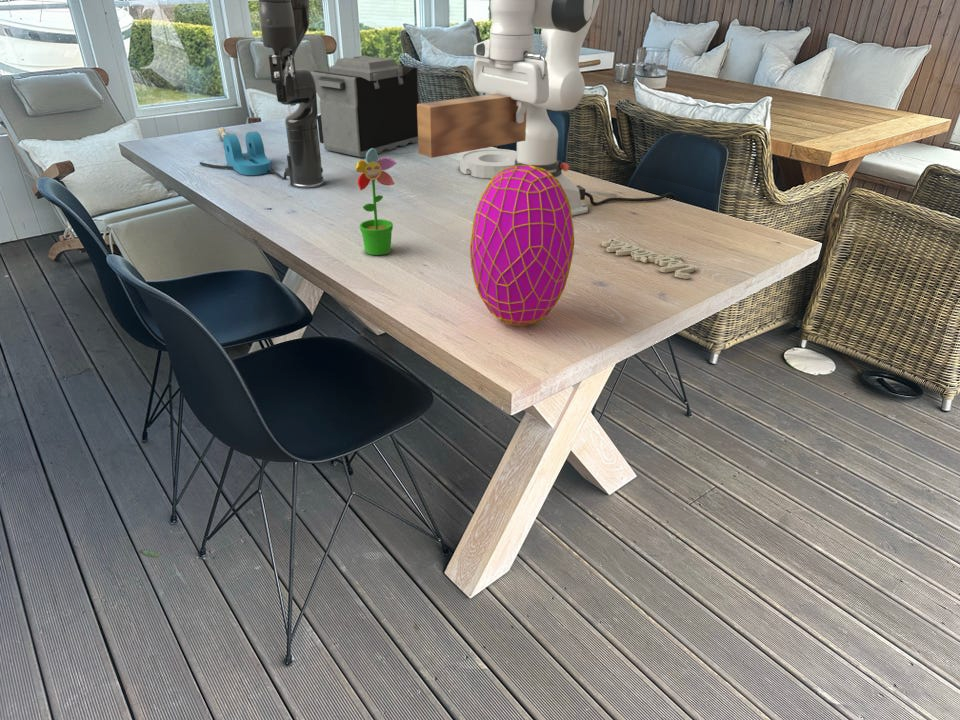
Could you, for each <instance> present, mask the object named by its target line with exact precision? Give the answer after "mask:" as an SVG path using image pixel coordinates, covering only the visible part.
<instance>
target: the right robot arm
mask: <svg viewBox="0 0 960 720" xmlns="http://www.w3.org/2000/svg"><path fill="white" fill-rule="evenodd" d="M600 1H601V0H490V2H489V3H490V6H489V7H490V9H489V10H490V13H491V26H490V29H489V38H488V39H486V40H483V41H480V42H478V43H476V44H474V46H473V55H474V56H475V58H474V61H473V87H474V88H475V91H476V92H478V93H482V94H485V95H490V94H501V95H506V96H510V97H511V99H513V100H517V106H519V107H518V109H517V112H516V113H514V114H513V121H514V122H516V123H523V122H524V114H525V112H526V110H527V114H526V138H525V141H521V142H516V151H517V157H516V159H515V166H516V165H532V166H536V167H539V168H542V169H545V170H547V171H549V172H550V173H551V174H552V175H553V176H554V177H555V178H556V179H557V180H558V181H559V182H560V184H561V186H562V188H563V189H564V191H565V193H566V195H567V198H568V201H569V204H570V207H571V213H572V217H573V216H578V215H581V214H586V213H588V211H589V207H588V205H587V204H586V203H585V202H583V201H584V200H585V199H586V197H587V198H588V199H589V202H590V204H591V205H593V206H600V205H603V204H606V203H608V202H609V203H610V202H653V201H659V200H663V199H665V198H667V197H671V198H673V199H676V198H677V196H676V195H675V194H674V193H673V192H666V193H664V194H662V195H660V196H653V197H642V198H641V197H636V198H635V197H608V198H605V199H602V200H601V201H599V202H598V201H597V202H596V201H594V197H593V195H592V194H591V193H589V192H586V191H587V190H586V188H584V187H583V186H582V185H579V184H578V185H576V184H575V183H574V182H573V181H571V180H570V179H569V178H568V177H567V176H565V175H564V174H563V173H562V172H568V171H569V169H570V165H569V163H567V162H561V161H560V160H558V149H559V148H558V146H559V131H558V128H557V127H556V126H555V124H554V123H553V122H552V121H551V120H550V117H549V115H548V111H547V110H549V111H553V112H554V111H555V112H564V111H572V110H574V109H576V108H577V107H578V106H579V105H580V103H581V101H582V100H583V98H584V96H585V92H586V91H585V90H586V83H585V79H584V76H583V74H582V72H581V71H580V63H579V62H580V55H581V50H582V47H583V46H584V45H583V44H584V43H585V40H586V37H587V34H588V32H589V30H590V29H591V25H592V23H593V21H594V19H595V16H596V13H597V11H598V7H599V5H600ZM535 29H537V30H539V29H540V36H541V40H542V43H543V45H544V46H545V48H546V53H545V56H543V54H542V53H539V52H538V53H535V52H534V41H535V40H534V37H535Z"/></svg>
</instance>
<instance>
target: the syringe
mask: <svg viewBox="0 0 960 720" xmlns="http://www.w3.org/2000/svg"><path fill="white" fill-rule="evenodd" d="M218 134H219V140H220V141H221V142H223V137H224V135H229V134H228V133H227V132H226V129H225V128H224V127H219V128H218Z"/></svg>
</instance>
